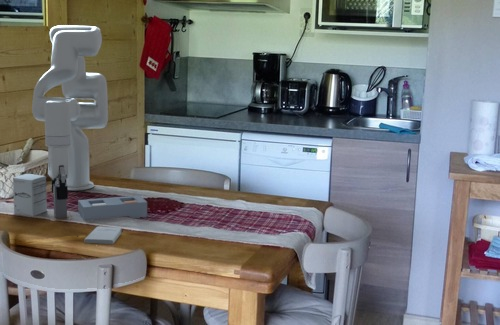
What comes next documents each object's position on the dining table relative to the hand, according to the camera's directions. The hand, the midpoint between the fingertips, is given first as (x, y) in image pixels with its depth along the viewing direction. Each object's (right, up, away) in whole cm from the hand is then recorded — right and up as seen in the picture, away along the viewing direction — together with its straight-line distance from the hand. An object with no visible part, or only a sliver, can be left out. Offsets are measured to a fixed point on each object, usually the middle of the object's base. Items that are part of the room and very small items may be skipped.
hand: (59, 195), depth 205 cm
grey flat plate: (0, -8, +2) cm, 8 cm away
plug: (0, -7, +2) cm, 7 cm away
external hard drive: (+17, -12, -13) cm, 24 cm away
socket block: (+15, -7, +7) cm, 18 cm away
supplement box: (-11, -7, +6) cm, 14 cm away
